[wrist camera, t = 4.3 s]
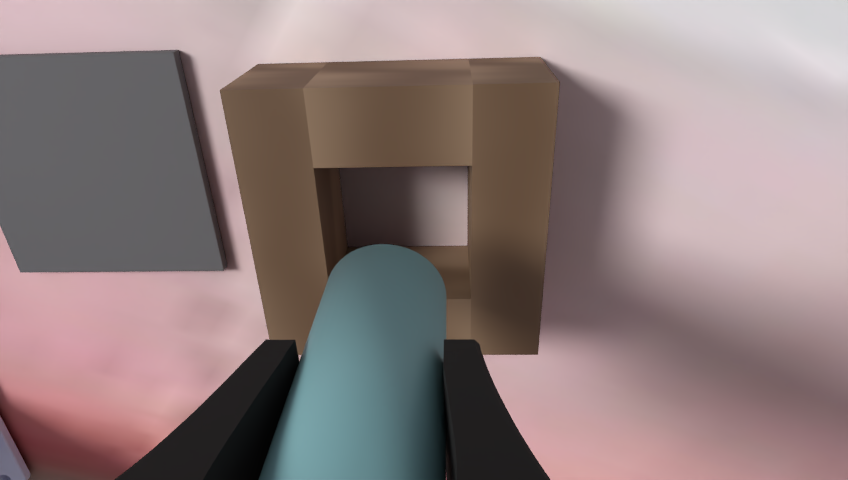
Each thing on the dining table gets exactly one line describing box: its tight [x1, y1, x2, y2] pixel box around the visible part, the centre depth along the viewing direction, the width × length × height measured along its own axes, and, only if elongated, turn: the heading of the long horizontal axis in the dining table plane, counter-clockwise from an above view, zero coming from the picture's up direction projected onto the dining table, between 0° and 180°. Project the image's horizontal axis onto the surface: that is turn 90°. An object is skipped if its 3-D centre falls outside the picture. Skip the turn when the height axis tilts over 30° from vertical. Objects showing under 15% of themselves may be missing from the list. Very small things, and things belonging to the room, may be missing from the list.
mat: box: [0, 50, 227, 272], centre depth 20 cm, size 8×8×1 cm
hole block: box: [220, 57, 560, 355], centre depth 19 cm, size 9×9×4 cm
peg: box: [258, 244, 446, 480], centre depth 10 cm, size 3×3×9 cm
